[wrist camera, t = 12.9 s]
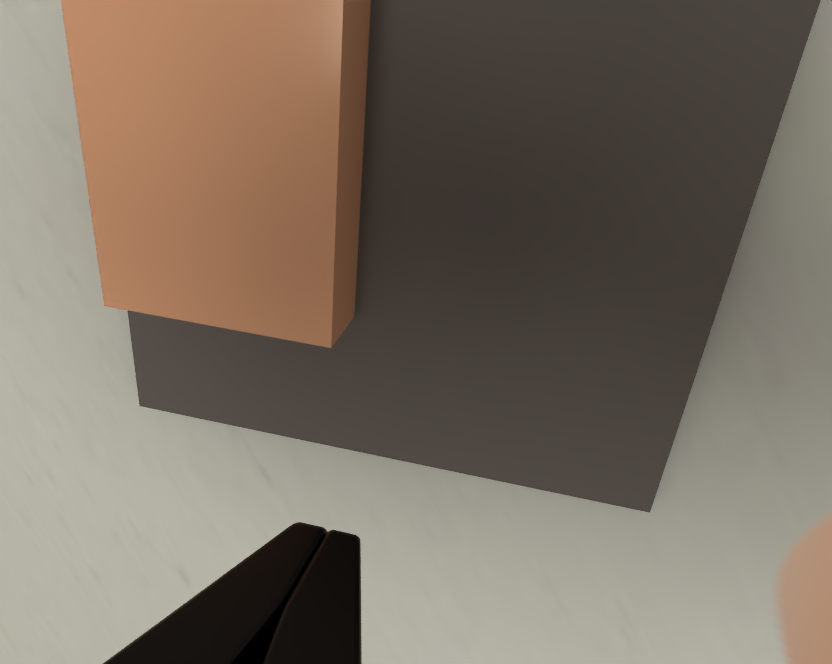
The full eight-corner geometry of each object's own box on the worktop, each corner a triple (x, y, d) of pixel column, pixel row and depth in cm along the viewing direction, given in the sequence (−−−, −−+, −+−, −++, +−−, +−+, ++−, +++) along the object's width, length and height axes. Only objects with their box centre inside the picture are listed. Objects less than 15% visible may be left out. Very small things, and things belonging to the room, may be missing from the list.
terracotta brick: (343, -20, 14) (54, -47, 15) (331, 348, 18) (104, 306, 19) (371, -14, 16) (113, -39, 17) (354, 316, 20) (147, 279, 21)
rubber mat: (819, -17, 14) (826, -18, 14) (648, 504, 21) (649, 512, 21) (88, -80, 17) (78, -83, 16) (146, 400, 24) (139, 405, 23)
